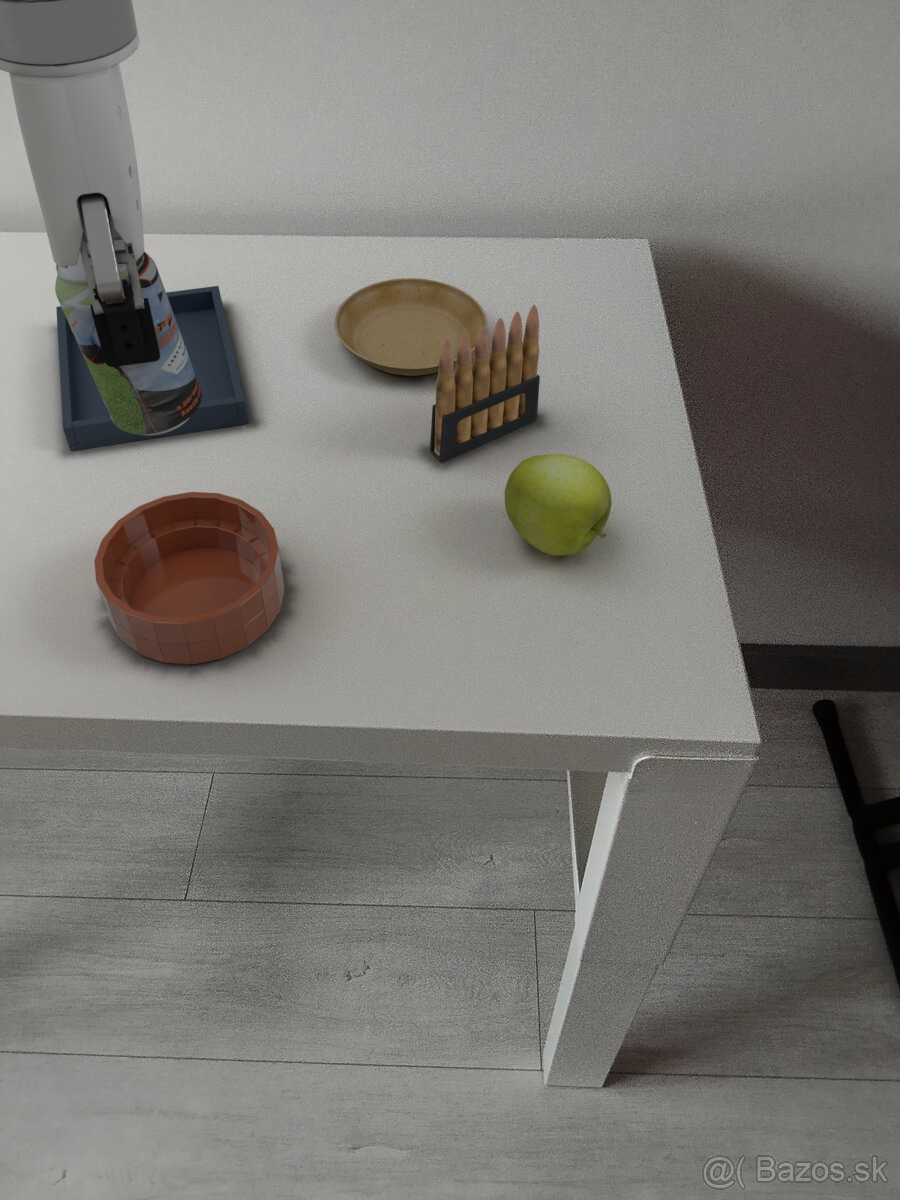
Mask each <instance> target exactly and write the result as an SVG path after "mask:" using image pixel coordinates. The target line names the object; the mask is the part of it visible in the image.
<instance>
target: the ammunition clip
mask: <svg viewBox="0 0 900 1200" xmlns="http://www.w3.org/2000/svg"><path fill="white" fill-rule="evenodd" d="M505 326H506V325H505V322H504V319H503V318H502V317H499V318H498V320H497V321H496V323H495V326H494V329H493V331H492V337H491V344H490V340H489V339H490V338H489V334H488V329H487V330H486V327H485V326H484V325H482V326H481V328H480V330H479V332H478V335H477V338H476V343H475V350H474V354H473V358H472V353H471V345H470V340H469V336H468V334H467V333H466V332H464V333H463V335H462V337H461V339H460V342H459V346H458V352H457V361H456V364H455V365H454V361H453V352H452V347H451V344H450V342H449V340H448V339H446V340H445V342H444V344H443V346H442V349H441V353H440V359H439V369H438V372H437V378H436V382H435V403H434V404H432V407H431V411H432V412H431V425H430V440H429V452H430V453H431V455H432V456H433V457H435V458H436V459H437V461H438V462H440V463H441V464H443V463H445V462H448V461H450V460H452V459H454V458H456V457H459V456H461V455H463V454H466V453H467V452H471V451H472V450H475V449H476V448H479V447H482V446H483V445H485V444H488V443H490V442H492V441H494V440H497V439H499V438H501V437H504V436H506V435H508V434H510V433H513V432H515V431H517V430H520V429H521V428H523V427H526V426H529V425H531V424H533V423H535V422H537V420H538V410H539V395H540V383H541V382H540V380H541V376H540V375H539V374H538V369H539V368H538V367H539V359H540V357H539V356H540V345H539V339H540V338H539V337H540V335H539V333H540V316H539V311H538V308H537V306H536V304H533V305H532V306H531V308H530V309H529V311H528V314H527V317H526V321H525V326H523V320H522V317H521V314H520V312H519V311H516V312H515V313H514V314H513V317H512V319H511V322H510V326H509V329H508V336H507V333H506V327H505ZM523 327H524V329H523ZM490 345H491V346H490ZM472 359H473V362H472ZM454 366H455V368H454Z"/></svg>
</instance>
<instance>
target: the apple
mask: <svg viewBox="0 0 900 1200" xmlns="http://www.w3.org/2000/svg"><path fill="white" fill-rule="evenodd" d="M610 489H611V488H610V486H609V484H608V481H607V480H606V478H605V477H604V475H603V474H602V473H601V472H600V471H599V470H598V469H597V468H596V467H595V466H594V465H593V464H591V463H590V462H588V461H587V460H584V459H582V458H580V457H577V456H574V455H570V454H559V453H557V454H556V453H555V454H553V453H552V454H550V453H549V454H538V455H533V456H529V457H527V458H526V459H524V460H522V461H521V462H520V463H519V464H518V465H516V466H515V468H513V469H512V471H511V473H510V474H509V477H508V479H507V483H506V484H505V487H504V507H505V511H506V514H507V515H506V516H507V517H508V519H509V521H510V523H511V524H512V526H513V527H514V528H515V530H516V532H518V533H519V535H520V536H521V537H522V538H523V539H524V540H525V541H526V542H527V543H528V544H530V545H531V546H532V547H533V548H535V549H537V550H539V551H541V552H542V553H545V554H548V555H551V556H567V555H568V556H569V555H575V554H579V553H581V552H582V551H584V550H586V548H588V547H589V546H590V545H591V544H592V543H593V541H594V540H595V539H596V537H598V538H601V539H603V538H605V537H606V536H607V532H606V531H605V530H603V529H604V528H605V526H606V524H607V522H608V519H609V517H610V515H611V514H610V513H611V511H612V510H611V509H612V493H611V490H610Z"/></svg>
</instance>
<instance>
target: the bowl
mask: <svg viewBox="0 0 900 1200" xmlns="http://www.w3.org/2000/svg"><path fill="white" fill-rule="evenodd" d="M93 563H94V573H95V575H94V576H95V582H96V586H97V588H98V591H99V593H100V596H101V599H102V602H103V605H104V607H105V610H106V613H107V617H108V619H109V622H110V624H111V626H112V628H113V630H114V631H115V632H116V635H117V637H118V638H119V639H120V641H121V642H123V643H124V644H125V645H127V646H128V648H131V649H132V650H133V651H135V652H136V653H137V654H138V655H140V656H143V657H146V658H149V659H151V660H155V661H157V662H161V663H163V664H165V663H166V664H179V665H180V664H181V665H182V664H183V665H197V664H202V663H207V662H211V661H218V660H222V659H225V658H227V657H229V656H231V655H233V654H235V653H237V652H240V651H242V650H244V649H246V648H248V647H249V646H250V645H252V644H253V643H254V642H256V641H257V639H259V638H260V637H261V636H262V635H264V634H265V633H266V632H267V631H268V630H269V629H270V627H271V626H272V624H273V623H274V621H275V620H276V618H277V617H278V615H279V614H280V612H281V610H282V606H283V600H284V594H285V589H286V588H285V582H284V575H283V569H282V561H281V555H280V548H279V544H278V540H277V535H276V531H275V528H274V527H273V525H272V524H271V523H270V522H269V520H268V518H266V516H265V515H264V513H262V512H261V511H260V510H258V509H257V508H256V507H254V506H253V505H250V504H249V503H247V501H244V500H242V499H240V498H236V497H234V496H231V495H226V494H223V493H219V492H203V491H188V492H183V493H176V494H171V495H165V496H161V497H158V498H156V499H154V500H151V501H148V502H146V503H143V504H140V505H138V506H136V507H135V508H134V509H132V510H131V511H130V512H128V513H127V514H125V515H124V516H123V517H121V518H120V519H118V520H117V521H116V522H115V524H113V526H112V527H111V528H110V529H109V530H108V532H107V533H106V534H105V535H104V537H103V538H102V539H101V541H100V544H99V547H98V549H97V552H96V555H95V558H94V562H93Z"/></svg>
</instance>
